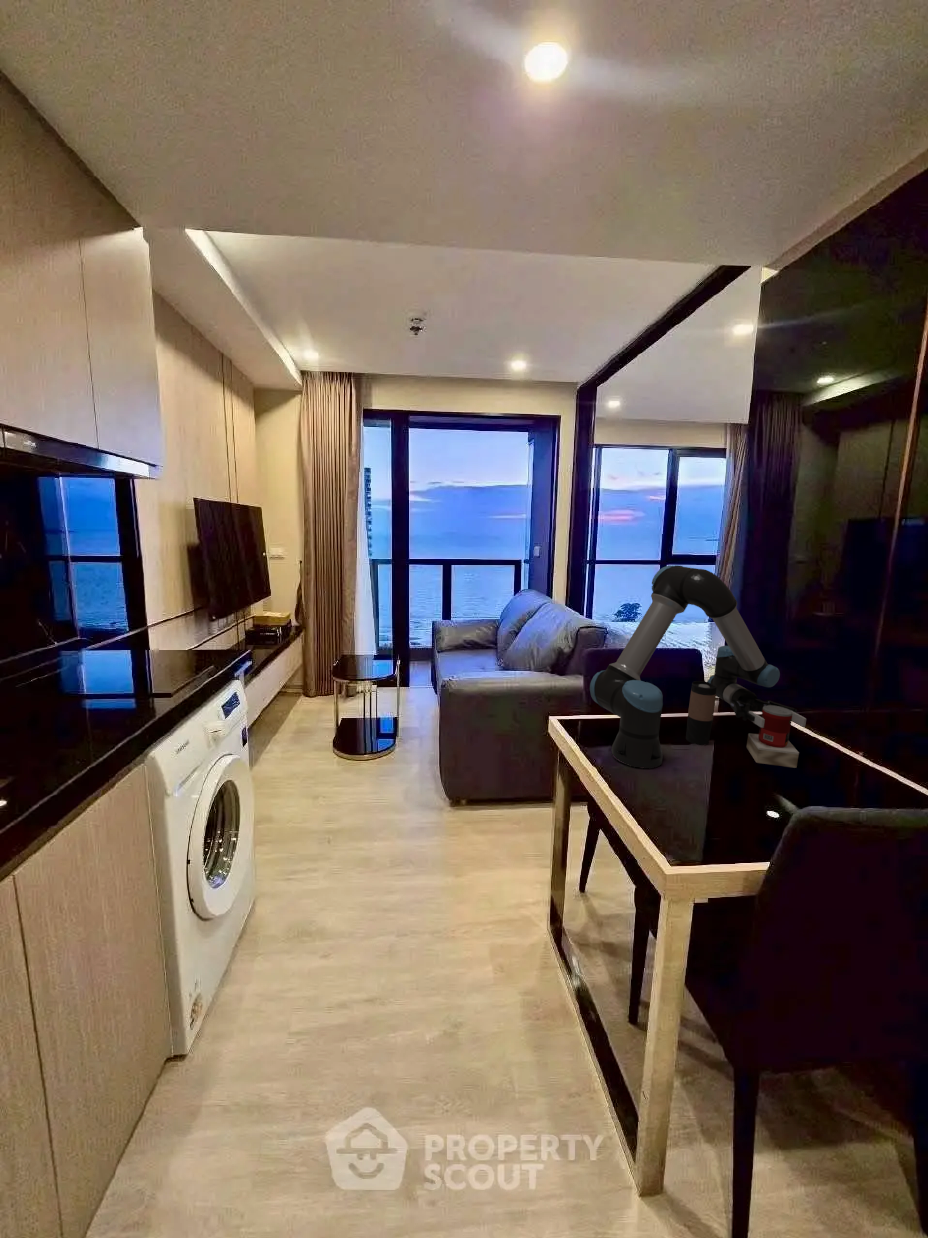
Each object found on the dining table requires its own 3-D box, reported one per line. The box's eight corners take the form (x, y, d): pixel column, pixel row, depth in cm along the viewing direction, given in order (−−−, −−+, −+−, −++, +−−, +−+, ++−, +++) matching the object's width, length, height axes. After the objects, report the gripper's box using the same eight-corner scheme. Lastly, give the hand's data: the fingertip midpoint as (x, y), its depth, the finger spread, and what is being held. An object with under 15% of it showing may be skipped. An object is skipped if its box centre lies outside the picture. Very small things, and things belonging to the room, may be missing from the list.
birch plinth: (756, 762, 155) (758, 747, 154) (746, 747, 166) (748, 733, 165) (796, 767, 152) (799, 752, 151) (783, 751, 163) (786, 737, 162)
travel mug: (685, 743, 168) (692, 686, 164) (684, 734, 175) (691, 679, 171) (710, 747, 165) (718, 689, 161) (708, 738, 172) (716, 682, 168)
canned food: (791, 749, 154) (797, 715, 151) (762, 746, 155) (768, 712, 153) (781, 738, 161) (787, 706, 159) (754, 736, 163) (759, 704, 160)
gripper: (772, 707, 176) (819, 733, 155) (705, 708, 174) (743, 735, 153) (775, 687, 174) (823, 711, 154) (707, 688, 172) (747, 712, 151)
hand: (784, 723), depth 153 cm, fingers open, 13 cm apart
